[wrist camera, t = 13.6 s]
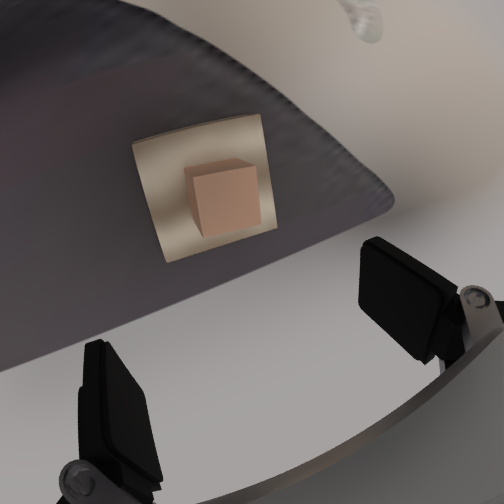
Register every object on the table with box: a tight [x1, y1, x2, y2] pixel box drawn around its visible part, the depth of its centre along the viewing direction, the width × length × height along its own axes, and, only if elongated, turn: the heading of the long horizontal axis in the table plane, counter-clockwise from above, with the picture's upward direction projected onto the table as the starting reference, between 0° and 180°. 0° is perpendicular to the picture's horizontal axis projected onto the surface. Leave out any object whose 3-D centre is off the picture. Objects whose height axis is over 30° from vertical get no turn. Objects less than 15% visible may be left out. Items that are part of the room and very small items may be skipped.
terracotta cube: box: [184, 158, 262, 238], centre depth 25 cm, size 5×5×5 cm
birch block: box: [132, 114, 277, 263], centre depth 29 cm, size 12×12×4 cm
